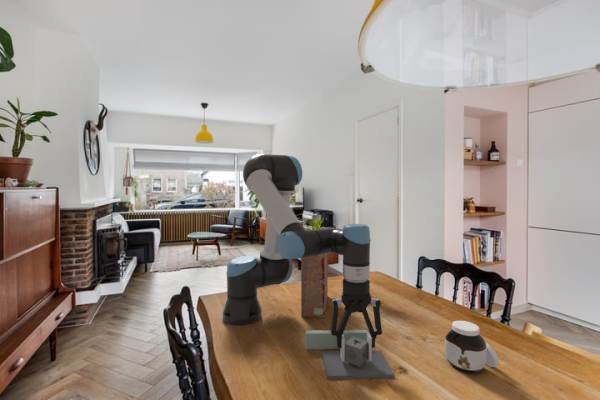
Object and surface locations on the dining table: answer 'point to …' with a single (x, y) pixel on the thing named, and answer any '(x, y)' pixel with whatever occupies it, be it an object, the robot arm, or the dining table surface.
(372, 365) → the mat
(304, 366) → the dining table surface
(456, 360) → the spread jar
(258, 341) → the dining table surface
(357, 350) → the dice cube
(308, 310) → the book
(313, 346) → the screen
